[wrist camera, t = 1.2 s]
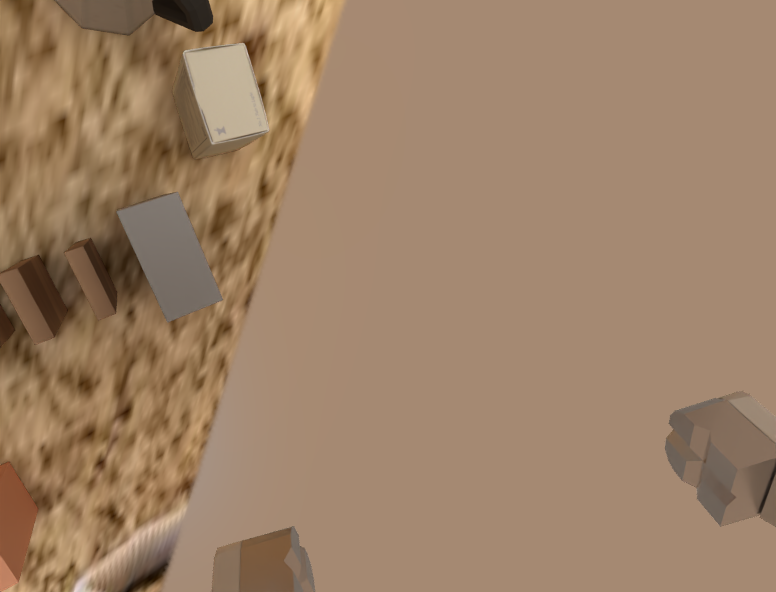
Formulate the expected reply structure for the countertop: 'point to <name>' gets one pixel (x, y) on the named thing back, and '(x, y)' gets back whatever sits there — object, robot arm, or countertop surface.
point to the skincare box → (218, 100)
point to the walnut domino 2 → (34, 298)
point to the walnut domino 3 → (93, 278)
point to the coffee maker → (137, 13)
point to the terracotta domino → (14, 525)
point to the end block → (170, 255)
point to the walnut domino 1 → (5, 327)
